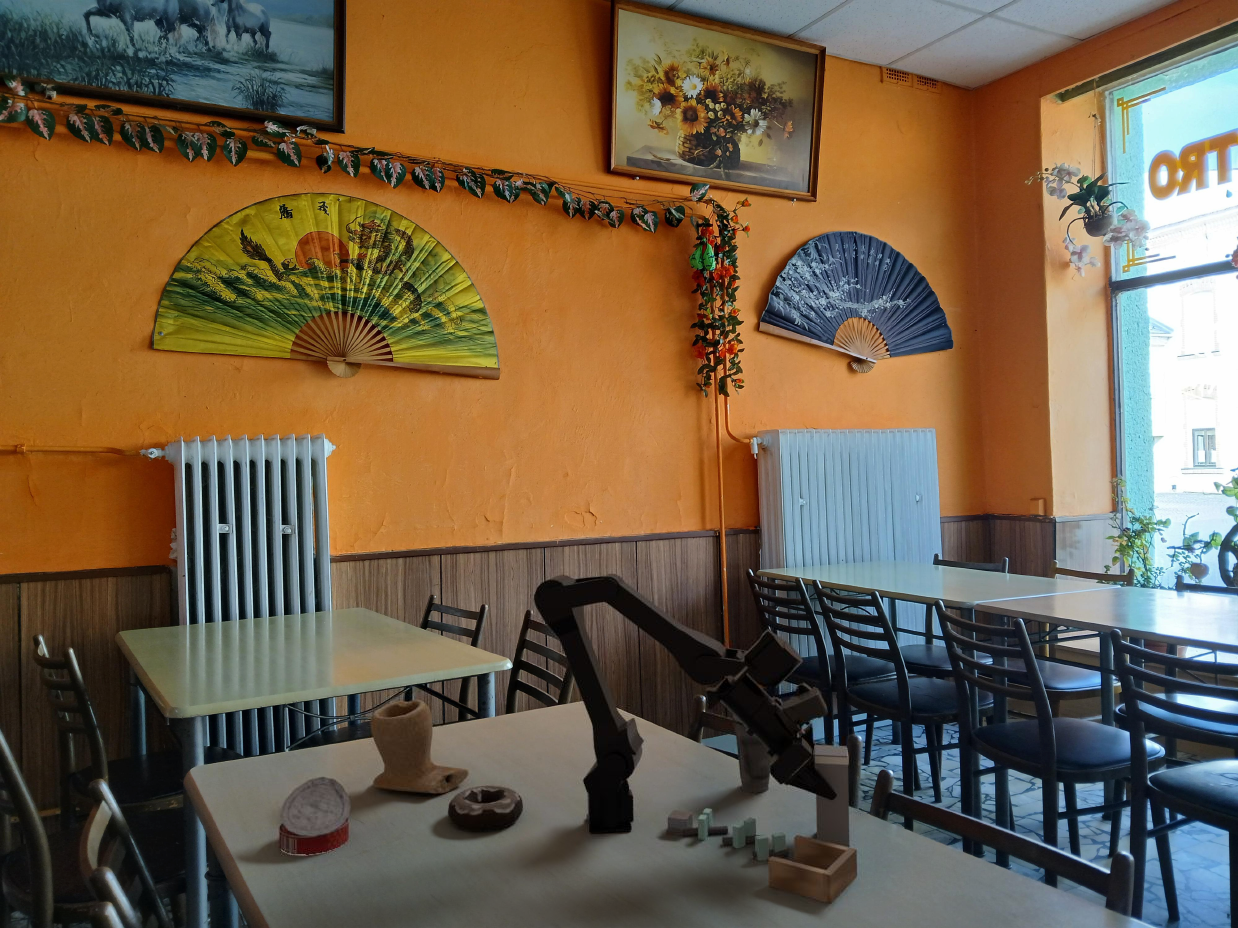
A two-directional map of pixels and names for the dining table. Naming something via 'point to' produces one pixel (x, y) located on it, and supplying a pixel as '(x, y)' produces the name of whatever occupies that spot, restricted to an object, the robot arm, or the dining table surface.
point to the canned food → (315, 817)
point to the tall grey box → (836, 811)
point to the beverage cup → (752, 759)
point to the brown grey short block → (679, 822)
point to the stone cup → (410, 750)
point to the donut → (485, 808)
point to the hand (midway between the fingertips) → (833, 786)
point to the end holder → (815, 869)
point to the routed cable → (730, 839)
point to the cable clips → (741, 832)
